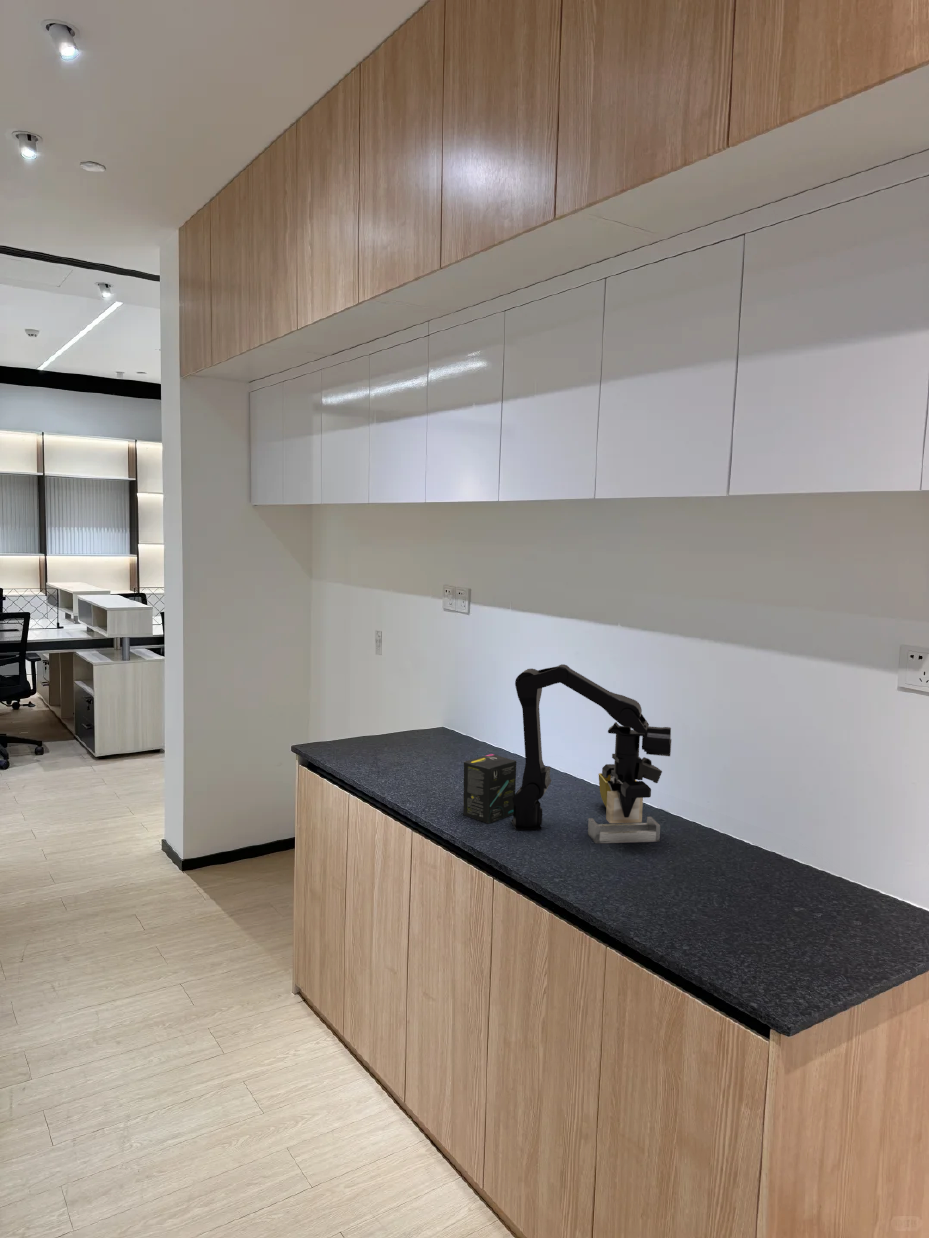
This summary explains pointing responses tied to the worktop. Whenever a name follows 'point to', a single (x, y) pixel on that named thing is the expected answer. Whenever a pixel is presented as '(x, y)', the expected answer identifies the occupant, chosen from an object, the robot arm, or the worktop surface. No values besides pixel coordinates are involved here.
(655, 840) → the bottom track
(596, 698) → the robot arm
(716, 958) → the worktop surface
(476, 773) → the tampon box
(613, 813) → the door panel
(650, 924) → the worktop surface
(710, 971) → the worktop surface
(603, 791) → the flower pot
